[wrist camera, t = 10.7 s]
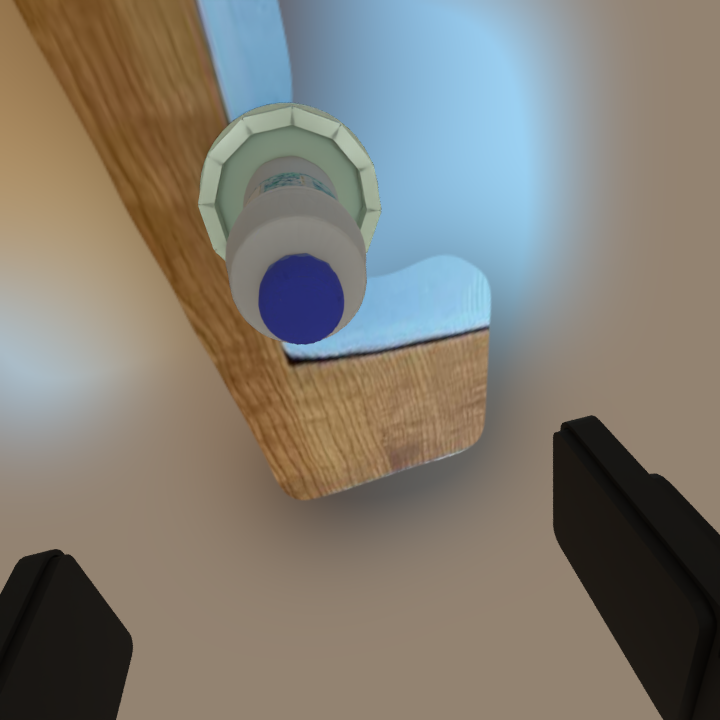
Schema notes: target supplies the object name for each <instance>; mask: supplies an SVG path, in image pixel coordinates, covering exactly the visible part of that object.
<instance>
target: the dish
mask: <svg viewBox="0 0 720 720" xmlns="http://www.w3.org/2000/svg"><path fill="white" fill-rule="evenodd" d="M286 156H297V157H301V158H304V159H306V160H308V161H310V162H312V163H314V164H316V165H317V166H318V167H320V168H321V169H322V170H323V171H324V172H325V173H326V174H327V175H328V176H329V178H330V180H331V181H332V183H333V185H334V187H335V189H336V192H337V195H338V200H339V203H341V204H342V206H343V207H344V208H345V209H346V210H347V211H348V213H349V214H350V215H351V217H352V218H353V219H354V221H355V222H356V224H357V226H358V227H359V229H360V231H361V234H362V236H363V240H364V243H365V249H366V253H367V252H368V248H369V246H370V243H371V240H372V237H373V234H374V231H375V229H376V226H377V223H378V220H379V217H380V214H381V204H380V199H379V192H378V183H377V179H376V174H375V170H374V164H373V162H372V161H371V159H370V157H369V155H368V153H367V152H366V150H365V148H364V146H363V145H362V144H361V142H360V141H359V140H358V138H357V137H356V136H355V135H354V134H353V133H352V131H350V129H349V128H348V127H346V126H345V125H344V124H343V123H341V122H340V121H339V120H338V119H336V118H334V117H333V116H331V115H330V114H328V113H326V112H324V111H321V110H319V109H317V108H314V107H311V106H307V105H303V104H296V103H275V104H269V105H264V106H261V107H258V108H255V109H253V110H251V111H249V112H246V113H244V114H243V115H241V116H240V117H238V118H237V119H235V120H234V121H233V122H231V123H230V124H229V125H228V126H227V127H226V128H225V129H224V130H223V131H222V132H221V134H220V135H219V136H218V137H217V139H216V140H215V141H214V143H213V145H212V147H211V148H210V150H209V152H208V154H207V157H206V159H205V162H204V165H203V169H202V173H201V180H200V196H199V201H198V204H199V205H198V207H199V209H200V212H201V215H202V218H203V221H204V223H205V226H206V229H207V232H208V235H209V237H210V240H211V243H212V246H213V249H214V250H215V252H216V253H217V254H218V255H220V256H221V257H222V258H223V259H224V260H225V261H226V259H225V255H226V244H227V240H228V237H229V234H230V231H231V229H232V227H233V225H234V223H235V221H236V219H237V217H238V216H239V214H240V213H241V211H242V210H243V201H244V194H245V190H246V187H247V185H248V183H249V181H250V179H251V177H252V176H253V174H254V173H255V172H256V170H257V169H258V168H259V167H260V166H261V165H263V164H264V163H266V162H268V161H271V160H274V159H276V158H280V157H286Z"/></svg>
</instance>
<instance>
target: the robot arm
mask: <svg viewBox="0 0 720 720" xmlns="http://www.w3.org/2000/svg"><path fill="white" fill-rule="evenodd" d="M553 527H554V533H555V536H556V539H557V541H558V543H559V545H560V547H561V549H562V550H563V552H564V554H565V556H566V557H567V559H568V561H569V562H570V564H571V566H572V567H573V569H574V571H575V572H576V574H577V576H578V577H579V579H580V581H581V582H582V584H583V586H584V587H585V589H586V591H587V593H588V594H589V596H590V598H591V599H592V601H593V603H594V604H595V606H596V608H597V609H598V611H599V613H600V614H601V616H602V618H603V619H604V621H605V623H606V624H607V626H608V628H609V630H610V631H611V633H612V635H613V636H614V638H615V640H616V641H617V643H618V645H619V646H620V648H621V650H622V651H623V653H624V655H625V657H626V658H627V660H628V661H629V663H630V665H631V667H632V668H633V670H634V672H635V673H636V675H637V677H638V678H639V680H640V682H641V684H642V685H643V687H644V689H645V690H646V692H647V694H648V695H649V697H650V699H651V700H652V702H653V703H654V705H655V707H656V709H657V710H658V712H659V714H660V715H661V717H662V718H663V720H720V535H719V534H718V532H717V531H716V530H715V529H714V528H713V527H712V526H711V525H710V524H709V523H708V522H707V521H706V520H705V519H704V518H703V517H702V516H701V515H700V514H699V513H698V512H697V510H696V509H695V508H694V507H693V506H692V505H691V504H690V503H689V502H688V501H687V500H686V499H685V498H684V497H683V496H682V495H681V494H680V493H679V492H678V490H677V489H676V488H675V487H674V486H673V485H672V484H671V483H670V482H669V481H667V480H666V479H665V478H664V477H663V476H661V475H658V474H649V473H648V472H647V471H646V470H645V469H644V468H643V467H642V466H641V465H640V464H639V463H638V462H637V461H636V459H635V458H634V457H633V456H632V455H631V454H630V453H629V452H628V451H627V449H626V448H625V447H624V446H623V445H622V444H621V443H620V442H619V441H618V440H617V439H616V438H615V436H614V435H612V433H611V432H610V431H609V430H608V429H607V428H606V427H605V426H604V424H603V423H602V422H601V421H600V420H598V418H596V417H595V416H592V415H591V416H587V417H584V418H579V419H575V420H571V421H567V422H564V423H562V425H561V430H560V431H559V432H555V433H554V435H553ZM132 652H133V643H132V638H131V635H130V633H129V632H128V631H127V629H126V628H125V627H124V625H123V624H122V623H121V621H120V620H119V618H118V617H117V616H116V614H115V613H114V612H113V610H112V609H111V608H110V606H109V605H108V604H107V602H106V601H105V600H104V598H103V597H102V596H101V594H100V593H99V591H98V590H97V589H96V587H95V586H94V585H93V583H92V582H91V581H90V579H89V578H88V577H87V575H86V574H85V573H84V571H83V570H82V568H81V567H80V566H79V564H78V563H77V562H76V560H75V559H74V558H73V557H72V556H71V555H69V554H68V555H65V554H64V553H63V552H62V551H61V550H58V549H54V550H49V551H45V552H42V553H37V554H33V555H29V556H25V557H23V558H22V559H20V560H19V561H18V563H17V564H16V565H15V567H14V569H13V571H12V573H11V575H10V577H9V579H8V581H7V583H6V585H5V586H4V588H3V590H2V592H1V594H0V720H116V718H117V713H118V709H119V705H120V701H121V697H122V693H123V689H124V685H125V681H126V677H127V673H128V669H129V665H130V660H131V657H132Z"/></svg>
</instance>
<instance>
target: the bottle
mask: <svg viewBox="0 0 720 720" xmlns="http://www.w3.org/2000/svg"><path fill="white" fill-rule="evenodd" d="M225 259H226V268H227V272H228V276H229V284H230V289H231V293H232V297H233V300H234V302H235V304H236V306H237V308H238V310H239V312H240V313H241V315H242V316H243V317H244V319H245V320H246V321H247V322H248V323H249V324H250V325H251V326H253V327H254V328H255V329H256V330H257V331H259V332H260V333H262V334H264V335H265V336H267V337H270V338H272V339H275V340H278V341H282V342H287V343H294V344H297V345H298V344H305V345H306V344H310V343H315V342H317V341H321V340H322V339H325V338H327V337H329V336H331V335H333V334H335V333H337V332H338V331H339V330H341V329H342V328H343V327H345V326H346V325H347V324H348V323H349V322H350V321H351V319H352V318H353V317H354V316H355V314H356V313H357V311H358V310H359V308H360V306H361V304H362V301H363V298H364V295H365V290H366V283H367V277H366V249H365V243H364V240H363V236H362V234H361V231H360V229H359V227H358V226H357V224H356V222H355V221H354V219H353V218H352V217H351V215H350V214H349V213H348V211H347V210H346V209H345V208H344V207H343V206H342V204H341V203H339V200H338V195H337V192H336V189H335V187H334V185H333V183H332V181H331V180H330V178H329V176H328V175H327V174H326V173H325V172H324V171H323V170H322V169H321V168H320V167H318V166H317V165H316V164H314V163H312V162H310V161H308V160H306V159H304V158H301V157H297V156H286V157H280V158H276V159H274V160H271V161H268V162H266V163H264V164H263V165H261V166H260V167H259V168H258V169H257V170H256V172H255V173H254V174H253V176H252V177H251V179H250V181H249V183H248V185H247V187H246V190H245V194H244V201H243V210H242V211H241V213H240V214H239V216H238V217H237V219H236V221H235V223H234V225H233V227H232V229H231V231H230V234H229V237H228V240H227V244H226V255H225Z"/></svg>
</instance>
